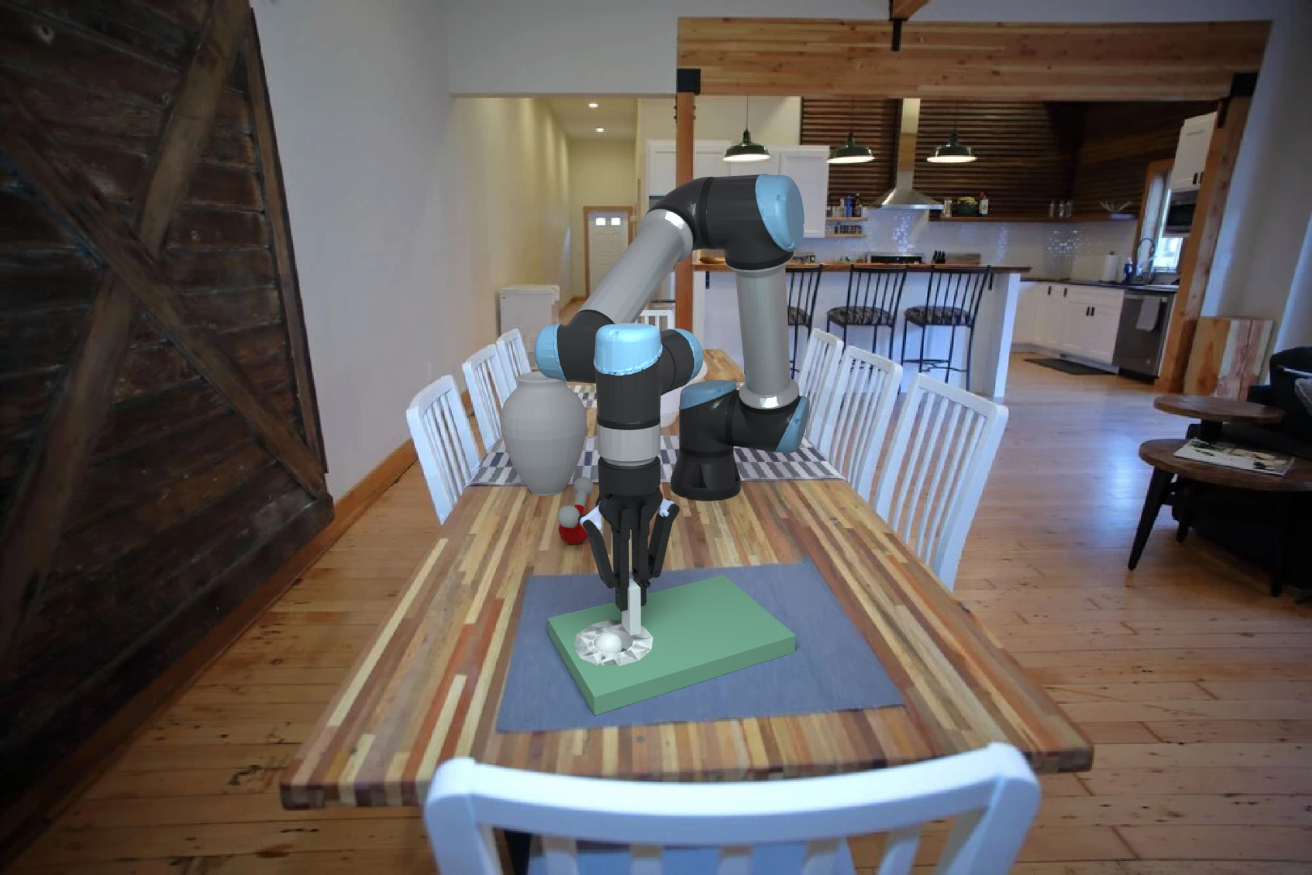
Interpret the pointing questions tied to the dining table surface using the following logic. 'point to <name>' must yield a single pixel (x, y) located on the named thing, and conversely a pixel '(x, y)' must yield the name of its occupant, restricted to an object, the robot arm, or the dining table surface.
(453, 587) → the dining table surface
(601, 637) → the ball
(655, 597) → the putting mat
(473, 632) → the dining table surface
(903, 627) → the dining table surface
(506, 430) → the vase
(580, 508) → the molecular model
